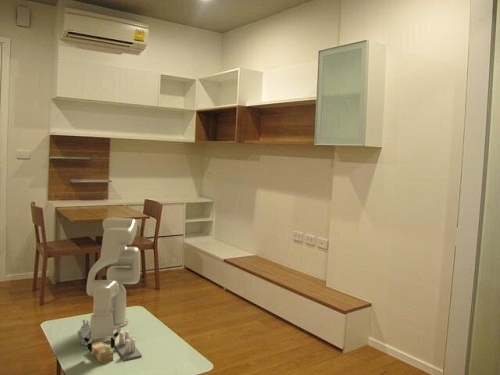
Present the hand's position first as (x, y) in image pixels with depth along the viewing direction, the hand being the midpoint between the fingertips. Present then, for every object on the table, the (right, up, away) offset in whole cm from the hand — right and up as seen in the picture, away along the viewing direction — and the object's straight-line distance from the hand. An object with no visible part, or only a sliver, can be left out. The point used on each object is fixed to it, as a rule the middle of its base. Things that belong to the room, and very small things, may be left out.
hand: (101, 349), depth 200 cm
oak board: (0, -4, +1) cm, 4 cm away
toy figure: (-12, -2, +12) cm, 17 cm away
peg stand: (+10, -3, +8) cm, 13 cm away
